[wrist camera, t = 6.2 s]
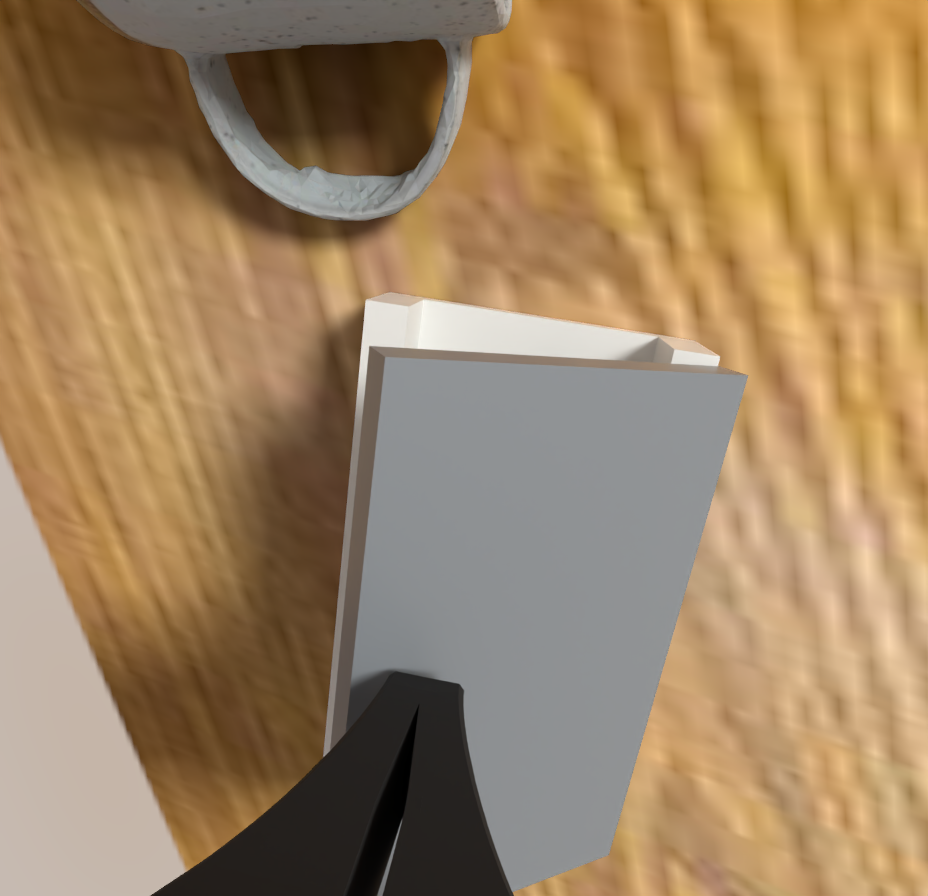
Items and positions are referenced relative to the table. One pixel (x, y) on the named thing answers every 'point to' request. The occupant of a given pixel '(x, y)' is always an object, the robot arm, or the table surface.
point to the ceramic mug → (290, 26)
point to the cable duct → (486, 332)
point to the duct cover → (530, 568)
